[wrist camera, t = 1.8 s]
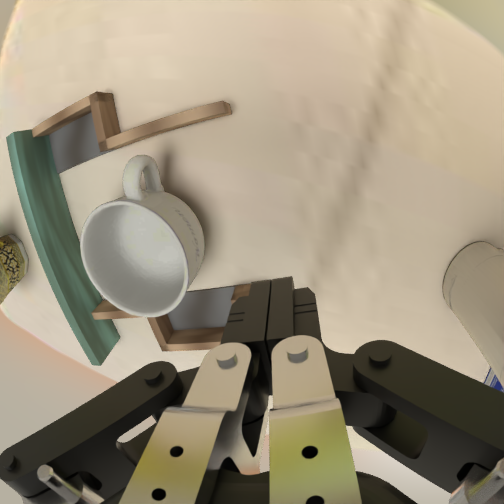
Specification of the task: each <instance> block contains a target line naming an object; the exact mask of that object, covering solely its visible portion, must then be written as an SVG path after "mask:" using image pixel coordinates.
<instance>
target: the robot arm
mask: <svg viewBox="0 0 504 504" xmlns="http://www.w3.org/2000/svg"><path fill="white" fill-rule="evenodd" d="M443 294H444V298H445V300H446V302H447V304H448V305H449V307H450V308H451V309H452V311H453V312H454V313H455V315H456V316H457V318H458V319H459V320H460V322H461V323H462V325H463V326H464V328H465V329H466V330H467V332H468V333H469V335H470V336H471V338H472V339H473V341H474V342H475V343H476V345H477V346H478V348H479V349H480V351H481V353H482V354H483V356H484V357H485V359H486V360H487V362H488V363H489V365H490V367H491V368H492V370H493V371H494V373H495V375H496V376H497V378H498V380H499V381H500V383H501V385H502V386H503V388H504V250H503V249H496V248H495V247H494V246H492V245H491V244H489V243H487V242H476V243H473V244H471V245H469V246H467V247H466V248H464V249H463V250H462V251H461V252H460V253H459V254H458V255H457V256H456V257H455V258H454V260H453V261H452V262H451V264H450V266H449V268H448V270H447V272H446V275H445V278H444V283H443ZM269 395H273V409H270V411H269V412H268V408H267V406H268V397H269ZM151 415H152V416H153V418H154V419H155V420H156V422H157V423H155V424H154V425H152V426H151V427H149V428H148V429H147V430H145V431H143V432H142V433H140V434H139V435H138V436H136V437H134V438H133V439H131V440H130V441H128V442H125V443H120V442H118V441H117V439H118V438H119V437H120V436H121V435H123V434H124V433H126V432H127V431H129V430H130V429H132V428H133V427H135V426H136V425H138V424H139V423H141V422H142V421H144V420H145V419H147V418H148V417H150V416H151ZM268 417H269V456H270V457H269V460H270V471H267V472H263V473H260V458H261V453H262V448H263V443H264V438H265V433H266V428H267V422H268ZM346 425H347V426H352V427H353V429H354V430H355V432H357V433H358V434H359V435H360V436H362V437H363V438H365V439H366V440H368V441H369V442H370V443H372V444H373V445H375V446H376V447H378V448H379V449H381V450H382V451H383V452H385V453H386V454H388V455H389V456H391V457H392V458H394V459H395V460H397V461H399V462H400V463H402V464H403V465H405V466H406V467H408V468H409V469H411V470H413V471H414V472H416V473H417V474H419V475H420V476H422V477H424V478H426V479H427V480H429V481H430V482H432V483H434V484H435V485H437V486H439V487H440V488H442V489H444V490H446V491H447V492H449V493H451V497H450V500H449V504H504V392H502V391H499V390H497V389H495V388H492V387H490V386H488V385H486V384H484V383H481V382H479V381H477V380H475V379H472V378H470V377H468V376H466V375H464V374H461V373H459V372H457V371H455V370H453V369H450V368H448V367H446V366H444V365H442V364H440V363H437V362H435V361H433V360H431V359H429V358H427V357H424V356H422V355H420V354H418V353H416V352H414V351H412V350H409V349H407V348H405V347H403V346H401V345H399V344H397V343H394V342H392V341H387V340H376V341H371V342H368V343H366V344H364V345H362V346H361V347H359V348H358V349H357V351H356V352H355V354H344V353H338V352H335V351H332V350H330V349H329V348H327V347H326V346H325V345H324V343H323V342H322V339H321V332H320V325H319V318H318V311H317V305H316V298H315V294H314V293H313V292H312V291H311V290H310V289H309V288H308V287H307V288H300V289H294V283H293V278H292V276H291V277H284V278H277V279H272V280H264V281H257V282H252V283H251V286H250V291H249V296H243V297H239V298H238V299H237V300H236V301H235V302H234V303H233V304H232V306H231V309H230V312H229V316H228V319H227V323H226V326H225V329H224V332H223V336H222V339H221V343H220V345H219V346H217V347H215V348H213V349H212V350H210V351H209V352H208V353H207V354H206V355H205V357H204V359H203V361H202V363H201V366H199V367H197V368H193V369H189V370H186V371H182V372H177V370H176V368H175V366H174V365H173V364H171V363H169V362H165V361H158V362H153V363H150V364H148V365H146V366H144V367H142V368H141V369H139V370H138V371H136V372H135V373H133V374H131V375H130V376H128V377H127V378H125V379H123V380H122V381H120V382H119V383H117V384H116V385H114V386H113V387H111V388H109V389H108V390H106V391H104V392H103V393H101V394H99V395H98V396H96V397H95V398H93V399H91V400H90V401H88V402H87V403H85V404H83V405H81V406H80V407H78V408H77V409H75V410H74V411H72V412H70V413H68V414H66V415H65V416H63V417H61V418H60V419H58V420H56V421H55V422H53V423H51V424H50V425H48V426H46V427H44V428H43V429H41V430H39V431H37V432H36V433H34V434H32V435H31V436H29V437H27V438H25V439H24V440H22V441H20V442H18V443H16V444H15V445H13V446H11V447H9V448H7V449H6V450H5V451H3V453H2V454H1V455H0V479H2V480H3V481H4V482H5V483H6V484H8V485H9V486H10V487H12V488H13V489H14V490H15V491H17V492H18V494H19V495H20V496H21V497H22V499H23V503H24V504H417V503H416V502H415V501H413V500H411V499H410V498H409V497H408V496H406V495H404V494H403V493H402V492H401V491H399V490H398V489H397V488H395V487H394V486H392V485H391V484H389V483H388V482H386V481H384V480H382V479H380V478H378V477H375V476H373V475H370V474H366V473H363V472H358V471H355V466H354V461H353V457H352V453H351V447H350V443H349V438H348V434H347V430H346Z"/></svg>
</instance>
